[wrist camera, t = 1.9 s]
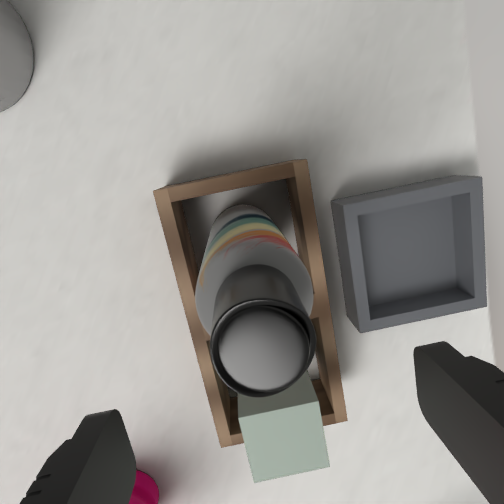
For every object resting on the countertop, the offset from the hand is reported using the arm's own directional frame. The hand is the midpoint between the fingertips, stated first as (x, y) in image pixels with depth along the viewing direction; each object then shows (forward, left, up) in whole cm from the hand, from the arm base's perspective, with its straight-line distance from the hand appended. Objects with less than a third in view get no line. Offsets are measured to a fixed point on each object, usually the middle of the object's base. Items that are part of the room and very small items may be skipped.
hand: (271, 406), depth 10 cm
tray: (+4, +14, -23) cm, 27 cm away
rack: (+5, 0, -23) cm, 23 cm away
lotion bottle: (0, 0, -23) cm, 23 cm away
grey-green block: (+11, 0, -23) cm, 25 cm away
